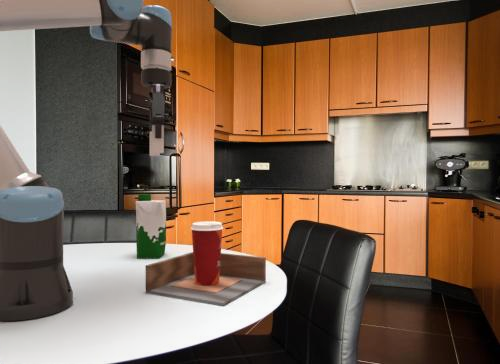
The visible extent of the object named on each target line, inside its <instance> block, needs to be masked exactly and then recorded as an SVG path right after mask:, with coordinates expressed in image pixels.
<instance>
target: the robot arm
mask: <svg viewBox="0 0 500 364" xmlns="http://www.w3.org/2000/svg"><path fill="white" fill-rule="evenodd" d="M144 1H145V0H0V32H9V31H11V32H12V31H28V30H30V31H31V30H41V29H42V30H44V29H46V30H47V29H60V28H61V29H62V28H78V27H80V28H81V27H89V34H90V36H91V38H93V39H95V40H101V41H104V42H111V43H112V42H113V43H119V44H120V43H121V44H125V45H126V44H127V45H135V46H139V47H141V49H140V51H141V52H140V68H141V69H142V70H141V72H140V74H141V75H140V80H141V81H140V84H141V86H142V87H144V88H147V89H151V90H150V92H149V91H148V95H147V97H148V98H147V101H148V111H149V127H148V130H149V157H161V154H164V153H165V145H164V144H165V143H164V142H165V126H164V124H165V119H166V117H165V97H166V94H165V92H164V89H165V90H166V89H170V88H171V87H172V83H173V82H172V75H173V74H172V73H171V71H172V64H173V63H174V62H175V60H174V58H172V35H173V23H172V14H171V12H170V10H169V9H167V8H166V7H164V6H161V5H156V4H154V5H151V4H147V5H146V6H144ZM64 208H65V200H64V196H63V192H62V191H61V190H60V189H59V188H56V187H50V186H48V183H46V180H45V178H43V176H42V175H41V174H38V173H34V172H31V170H30V169H29V168H28V166H27V165H26V163H25V162H24V160H23V158H22V157H21V156H20V154H19V152H18V151H17V149H16V147H14V145H13V143H12V141H11V140H10V138H9V136H8V135H7V134H6V132H5V130H4V129H3V127H2V126H1V125H0V321H2V322H6V321H7V322H12V321H14V322H15V321H25V320H33V319H39V318H42V317H47V316H51V315H55V314H56V313H60V312H62V311H65V310H67V309H68V308H70V307H71V306H72V305H73V303H74V291H73V288H72V286H71V283H70V280H69V278H68V275H67V272H66V268H65V266H64V218H65V212H64Z"/></svg>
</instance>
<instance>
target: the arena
mask: <svg viewBox="0 0 500 364" xmlns="http://www.w3.org/2000/svg"><path fill="white" fill-rule="evenodd" d="M266 259H267V258H266V257H264V256H253V255H243V254H242V255H241V254H235V253H233V254H232V253H223V252H221V260H220V276H219V283H218V284H216V285H210V286H202V285H197V284H196V283H195V274H194V258H193V251H191V252H188V253H185V254H181V255H177V256H173V257H171V258H167V259H164V260H160V261H157V262H153V263H150V264H147V265H145V293H146V294H150V295H151V294H152V295H157V296H163V297H168V298H175V299H180V300H185V301H186V300H187V301H192V302H198V303H202V304H203V303H205V304H208V305H209V304H210V305H214V306H215V305H216V306H220V307H221V306H222V307H225V306H226V305H228V304H230V303H231V302H233V301H235V300H237V299H239V298H241V297H242V296H244V295H245V294H248V293H249V292H251V291H253V290H255V289H257V288H258V287H260V286H262V285H264V284H265V283H266V281H267V279H266V277H267V276H266V275H267V273H266V270H267V269H266V268H267V267H266V265H267V262H266V261H267V260H266Z"/></svg>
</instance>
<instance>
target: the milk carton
mask: <svg viewBox="0 0 500 364" xmlns="http://www.w3.org/2000/svg"><path fill="white" fill-rule="evenodd" d="M166 202H167V201H166V200H164V199H162V200H159V199H152V194H150V193H145V194H143V193H141V194H138V197H137V200H136V201H135V214H136V217H135V220H136V221H135V225H136V226H135V229H136V230H135V232H136V233H135V235H136V237H135V239H136V242H135V243H136V244H135V245H136V259H160V258H162V257H163V256H164V255H165V253H166V244H167V243H166V242H167V209H166V208H167V203H166Z"/></svg>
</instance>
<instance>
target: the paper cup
mask: <svg viewBox="0 0 500 364" xmlns="http://www.w3.org/2000/svg"><path fill="white" fill-rule="evenodd" d="M191 224H192V225H191V227H190V230H191V237H192V238H191V239H192V252H193V258H194V274H195V283H196V284H197V285H202V286H210V285H216V284H218V283H219V276H220V260H221V253H222V238H223V230H224V227H223V223H222V222H221V221H213V220H212V221H210V220H209V221H208V220H206V221H194V222H193V223H191Z"/></svg>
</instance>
